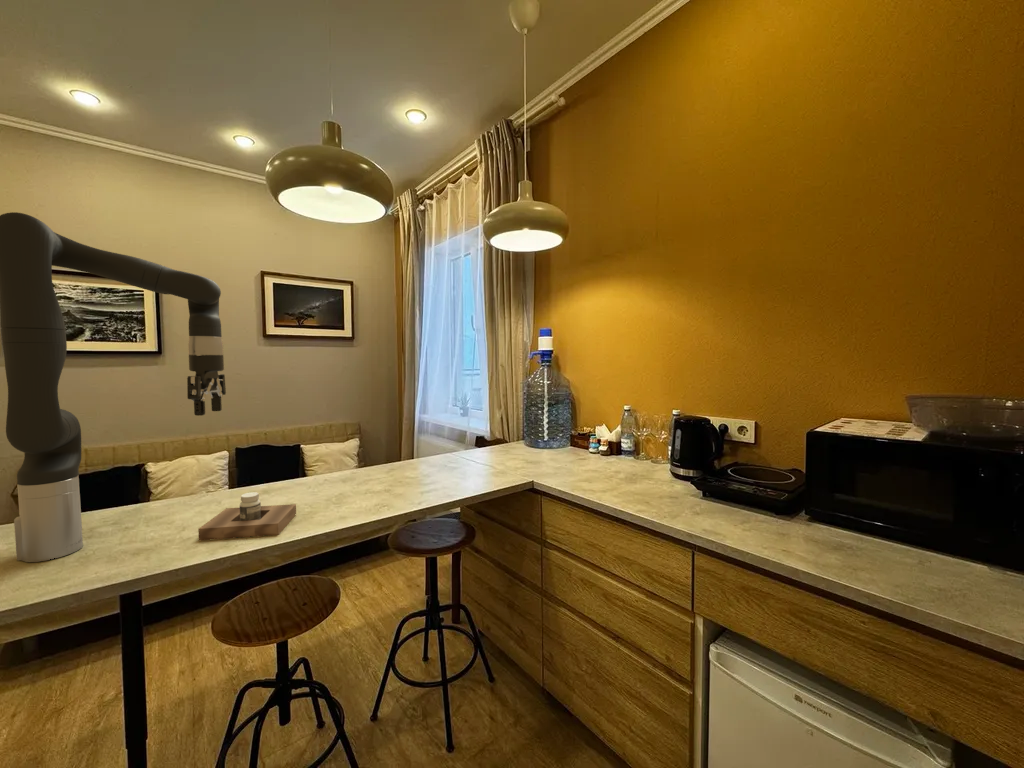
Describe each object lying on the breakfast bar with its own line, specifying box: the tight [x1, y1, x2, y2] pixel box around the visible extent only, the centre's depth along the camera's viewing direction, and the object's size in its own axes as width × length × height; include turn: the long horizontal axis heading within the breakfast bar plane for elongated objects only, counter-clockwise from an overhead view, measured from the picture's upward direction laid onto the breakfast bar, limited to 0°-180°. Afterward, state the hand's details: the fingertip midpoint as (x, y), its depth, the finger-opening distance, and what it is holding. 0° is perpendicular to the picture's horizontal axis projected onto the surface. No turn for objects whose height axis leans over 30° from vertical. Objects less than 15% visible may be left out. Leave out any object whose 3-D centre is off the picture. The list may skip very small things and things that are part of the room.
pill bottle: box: [239, 491, 262, 521], centre depth 108 cm, size 5×5×8 cm
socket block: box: [198, 503, 297, 541], centre depth 108 cm, size 18×14×3 cm
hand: (208, 413), depth 110 cm, fingers open, 8 cm apart
